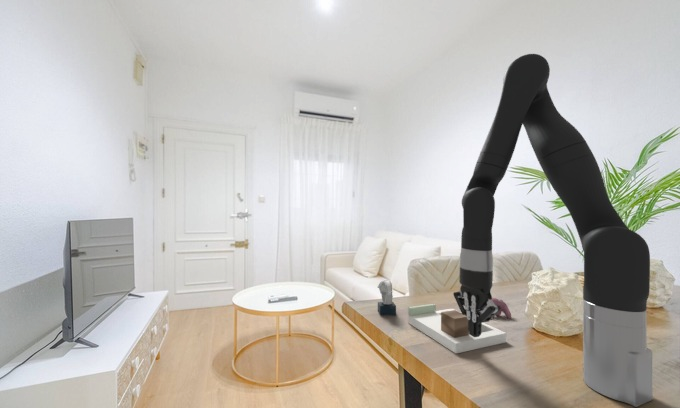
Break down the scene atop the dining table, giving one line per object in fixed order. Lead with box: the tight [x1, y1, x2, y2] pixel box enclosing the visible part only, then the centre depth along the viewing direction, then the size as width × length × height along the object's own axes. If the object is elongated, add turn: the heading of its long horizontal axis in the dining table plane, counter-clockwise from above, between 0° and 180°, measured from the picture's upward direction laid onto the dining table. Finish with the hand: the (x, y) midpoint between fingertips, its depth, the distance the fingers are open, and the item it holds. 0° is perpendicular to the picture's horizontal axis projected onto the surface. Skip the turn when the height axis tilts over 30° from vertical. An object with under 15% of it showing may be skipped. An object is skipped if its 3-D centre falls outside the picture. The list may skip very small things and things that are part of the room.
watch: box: [377, 280, 397, 316], centre depth 97 cm, size 6×8×11 cm
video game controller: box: [492, 297, 512, 320], centre depth 96 cm, size 10×5×7 cm, turn 85°
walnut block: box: [441, 309, 469, 338], centre depth 76 cm, size 5×5×5 cm
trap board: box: [407, 303, 507, 354], centre depth 82 cm, size 20×18×5 cm
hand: (474, 335), depth 70 cm, fingers closed
